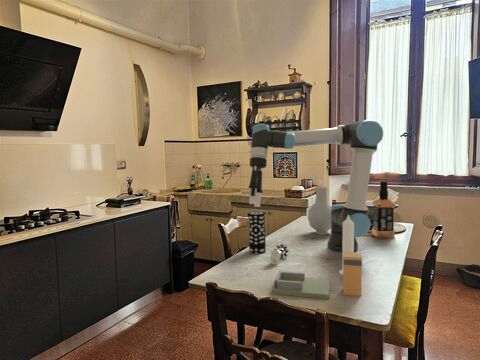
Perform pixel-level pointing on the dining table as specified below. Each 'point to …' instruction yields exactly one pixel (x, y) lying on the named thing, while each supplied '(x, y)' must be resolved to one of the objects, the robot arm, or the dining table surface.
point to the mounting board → (301, 285)
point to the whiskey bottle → (383, 214)
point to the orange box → (352, 273)
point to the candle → (347, 239)
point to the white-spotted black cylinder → (257, 232)
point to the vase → (320, 212)
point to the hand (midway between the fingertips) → (254, 205)
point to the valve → (278, 254)
